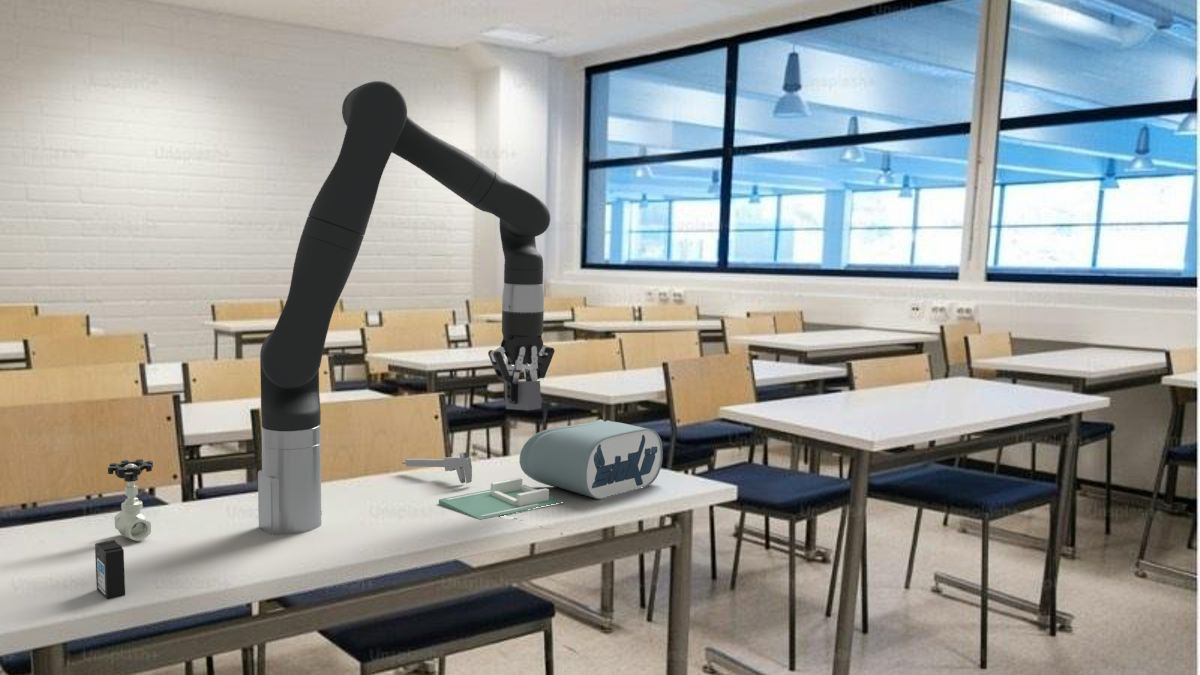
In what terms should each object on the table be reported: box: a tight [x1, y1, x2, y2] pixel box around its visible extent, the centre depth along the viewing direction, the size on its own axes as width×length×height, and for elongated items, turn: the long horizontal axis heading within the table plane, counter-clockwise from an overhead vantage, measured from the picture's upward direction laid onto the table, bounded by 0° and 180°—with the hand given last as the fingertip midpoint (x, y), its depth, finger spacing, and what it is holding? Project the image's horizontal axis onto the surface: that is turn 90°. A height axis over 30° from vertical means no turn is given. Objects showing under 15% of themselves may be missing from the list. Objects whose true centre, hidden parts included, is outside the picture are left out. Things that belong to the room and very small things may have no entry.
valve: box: [107, 458, 154, 542], centre depth 145 cm, size 7×7×12 cm
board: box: [438, 477, 565, 521], centre depth 167 cm, size 18×14×3 cm
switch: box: [503, 379, 542, 411], centre depth 167 cm, size 3×5×8 cm
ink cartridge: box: [94, 539, 126, 600], centre depth 120 cm, size 5×2×8 cm, turn 43°
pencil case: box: [519, 418, 664, 500], centre depth 181 cm, size 22×19×13 cm
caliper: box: [401, 451, 473, 484], centre depth 185 cm, size 20×1×6 cm, turn 51°
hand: (521, 402), depth 167 cm, fingers closed on switch, 2 cm apart
